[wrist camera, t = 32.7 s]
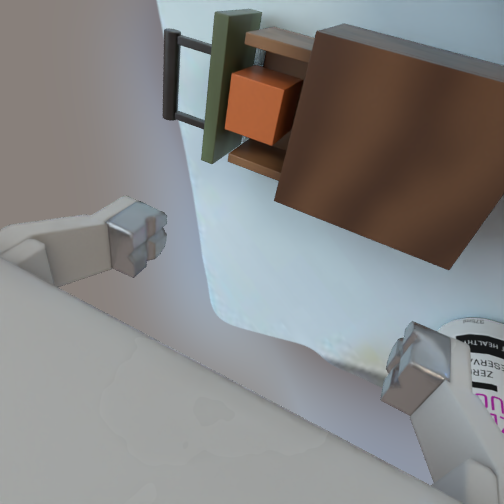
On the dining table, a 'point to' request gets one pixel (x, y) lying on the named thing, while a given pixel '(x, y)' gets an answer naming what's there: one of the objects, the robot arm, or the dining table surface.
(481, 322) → the supplement can
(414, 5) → the dining table surface
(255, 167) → the drawer
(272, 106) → the block
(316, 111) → the cabinet
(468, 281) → the dining table surface
